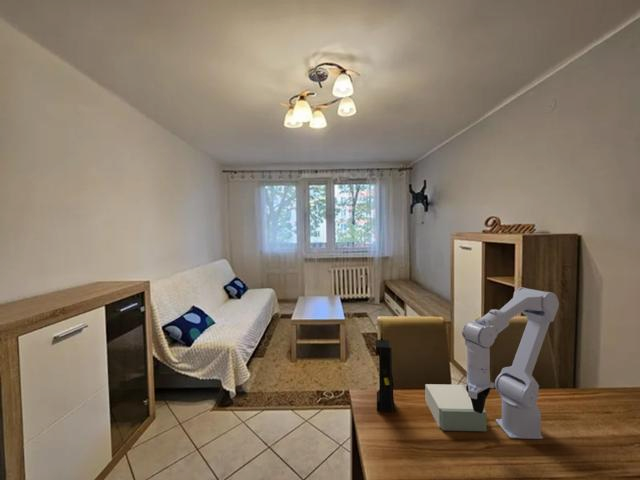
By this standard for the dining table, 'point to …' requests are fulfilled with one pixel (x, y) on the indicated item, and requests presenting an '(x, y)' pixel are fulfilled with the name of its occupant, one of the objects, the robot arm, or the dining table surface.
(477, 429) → the grey green drawer
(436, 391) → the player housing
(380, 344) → the portable radio
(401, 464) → the dining table surface
